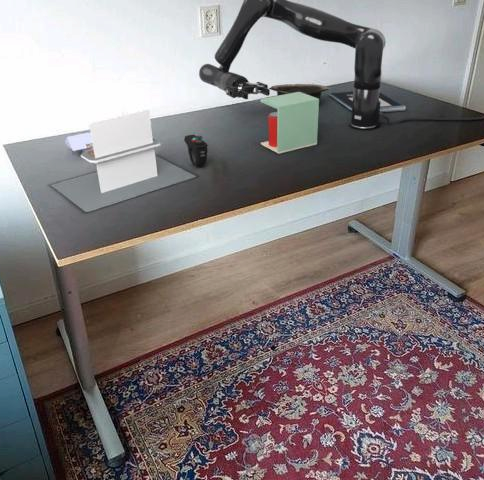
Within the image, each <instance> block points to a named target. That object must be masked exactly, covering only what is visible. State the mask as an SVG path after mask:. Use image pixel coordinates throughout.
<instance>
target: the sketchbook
mask: <svg viewBox="0 0 484 480" xmlns="http://www.w3.org/2000/svg"><path fill="white" fill-rule="evenodd" d="M353 91H354V90H352V91H351V90H350V91H340V92H339V91H338V92H337V91H336V92H329V97H331V98H332V99H333V100H335V101H336V102H338V103H339V104H340V105H342V106H343V107H345V108H347V109H348V110H349V111H351V112H352V104H353ZM379 101H380V102H381V103H380V111H381V112H382V113H389V112H390V113H391V112H402V111H403V112H404V111H405V110H407V106H406V105H404V104H402V103H400V102H398V101H397V100H396V99H393V98H392V97H390V96H389V95H386V94H384V93H383V92H381V91H380V93H379Z"/></svg>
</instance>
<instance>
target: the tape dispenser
mask: <svg viewBox="0 0 484 480" xmlns="http://www.w3.org/2000/svg"><path fill="white" fill-rule="evenodd" d="M91 143H92V138H91V132H84V133H80V134H74V135H70V136H66V138H65V140H64V144H65V145H66V146H67V147H68V148H69V149H70V150H71V151H73V152H75V151H79V150H81V153H84V152H87V146H86V144H90V146H89V147H88V150H89V149H90V148H91V146H92V145H93V144H91ZM91 150H93V148H92V149H91Z"/></svg>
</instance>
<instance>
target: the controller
mask: <svg viewBox="0 0 484 480" xmlns="http://www.w3.org/2000/svg"><path fill="white" fill-rule="evenodd" d="M183 141H184V143H185V144H186V146H187V151H188V156H189V159H190V162H191V164H192V165H193V166H195V167H202V166H205V165H206V163H207V161H208V151H209V149H208V146H209V145H208V143H207V142H205V140H203V136H202V135H195V134H189V135H188V134H187V135H185V136H184V139H183Z"/></svg>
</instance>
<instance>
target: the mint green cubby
mask: <svg viewBox="0 0 484 480" xmlns="http://www.w3.org/2000/svg"><path fill="white" fill-rule="evenodd" d="M259 103H262V104H264V105H266V106H269V107H271V108H273V109H276V112H277V147H271V146H269V140H266V141H264V142H260V145H261V146H262V147H265V148H267V149H269V150H271V151H272V152H274V153H276V154H277V155H279V154H283V153H287V152H292V151H295V150H299V149H303V148H308V147H312V146H316V145H318V131H319V108H320V102H319V99H318V98H315V97H313V96H310V95H307V94H304V93H302V92H294V93H288V94H283V95H278V96H277V95H272V96H266V97H261V98H259Z"/></svg>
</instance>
